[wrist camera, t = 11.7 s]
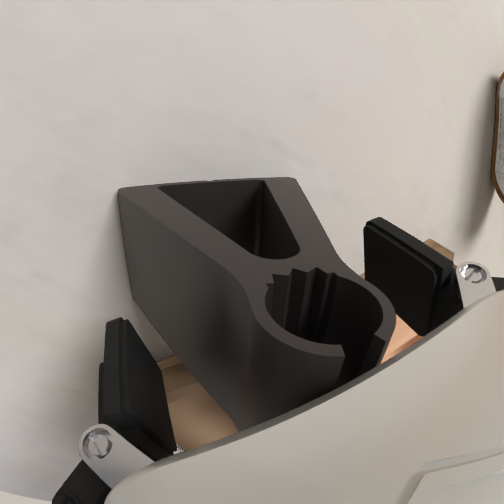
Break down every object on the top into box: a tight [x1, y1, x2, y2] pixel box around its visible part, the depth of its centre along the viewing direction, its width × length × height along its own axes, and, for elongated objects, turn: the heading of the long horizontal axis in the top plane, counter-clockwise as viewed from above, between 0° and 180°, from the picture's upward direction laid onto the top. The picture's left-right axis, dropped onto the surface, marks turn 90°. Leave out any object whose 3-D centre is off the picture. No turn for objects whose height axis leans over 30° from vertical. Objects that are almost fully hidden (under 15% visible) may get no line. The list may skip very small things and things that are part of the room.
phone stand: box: [118, 177, 396, 432], centre depth 11 cm, size 9×6×12 cm, turn 87°
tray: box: [156, 239, 457, 451], centre depth 24 cm, size 26×20×4 cm
